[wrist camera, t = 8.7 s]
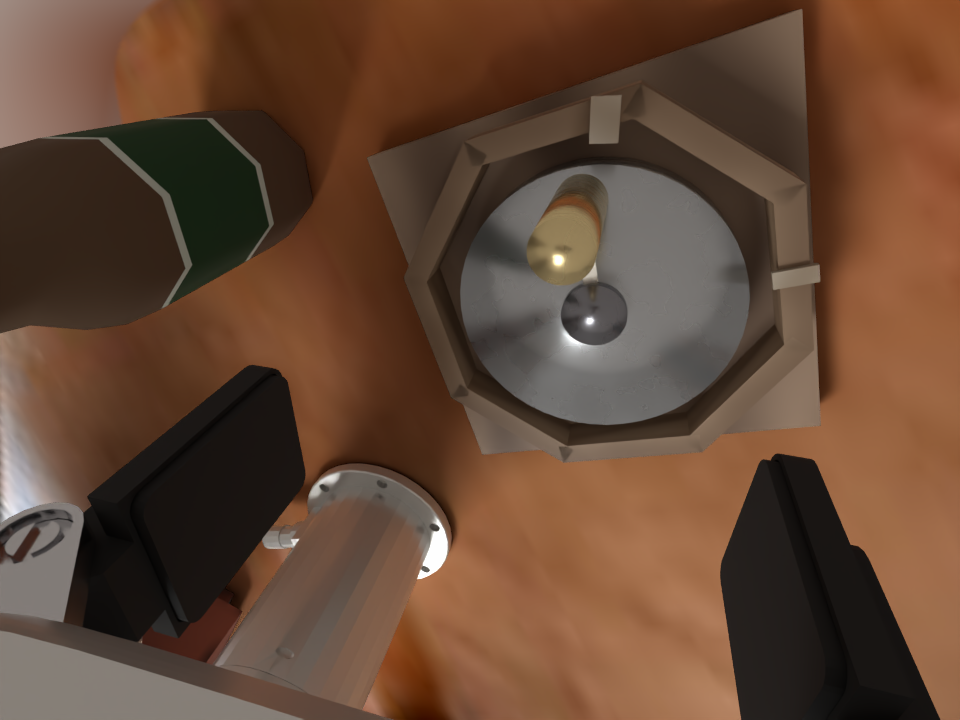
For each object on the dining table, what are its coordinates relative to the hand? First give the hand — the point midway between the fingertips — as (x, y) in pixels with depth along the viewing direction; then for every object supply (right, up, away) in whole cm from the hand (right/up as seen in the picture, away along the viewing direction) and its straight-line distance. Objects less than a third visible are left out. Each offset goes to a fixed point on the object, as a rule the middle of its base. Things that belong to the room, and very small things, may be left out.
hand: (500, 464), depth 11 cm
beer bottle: (-14, +13, +21) cm, 28 cm away
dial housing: (+6, +6, +19) cm, 21 cm away
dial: (+6, +6, +18) cm, 19 cm away
